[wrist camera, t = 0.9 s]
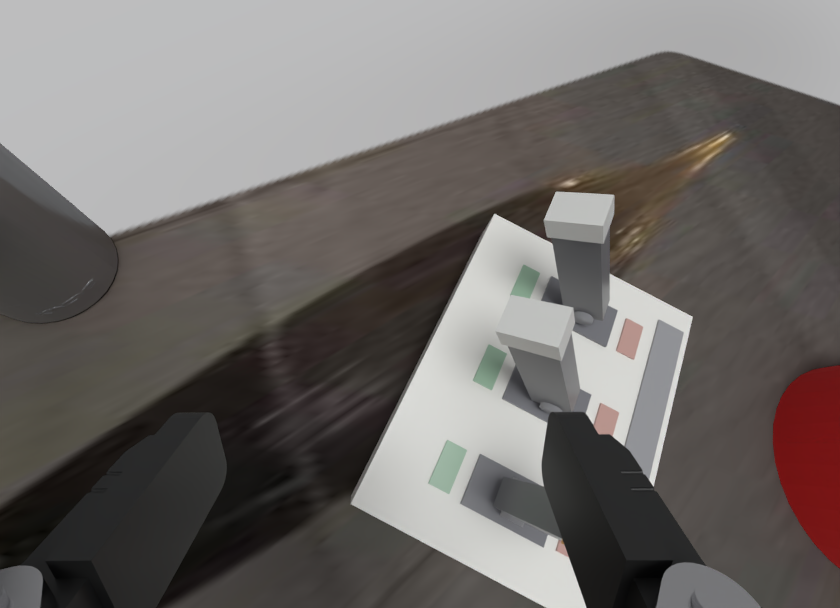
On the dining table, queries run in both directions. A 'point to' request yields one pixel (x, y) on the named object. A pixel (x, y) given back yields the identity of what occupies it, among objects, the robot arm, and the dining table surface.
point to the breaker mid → (542, 350)
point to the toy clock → (812, 455)
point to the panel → (514, 414)
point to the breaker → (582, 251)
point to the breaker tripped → (526, 506)
